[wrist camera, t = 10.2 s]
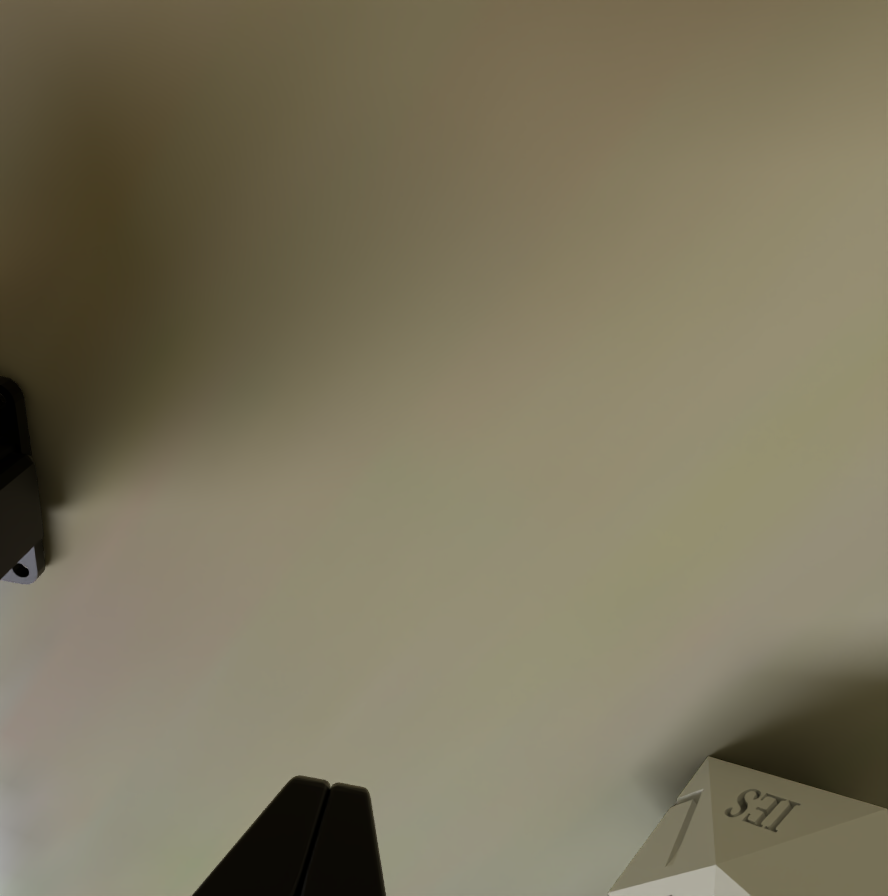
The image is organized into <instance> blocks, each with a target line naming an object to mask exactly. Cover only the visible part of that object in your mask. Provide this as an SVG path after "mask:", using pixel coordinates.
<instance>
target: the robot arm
mask: <svg viewBox="0 0 888 896" xmlns="http://www.w3.org/2000/svg"><path fill="white" fill-rule="evenodd" d="M0 393H1V394H2V395H3V396H4V398H5V400H6V402H3V401H2V400H0V580H3V581H9V582H15V583H20V584H30V583H33V582H34V581H35V580H36V579H37V578H38V577H39V576H40V575H41V574H42V573H43V572H44V570H45V560H44V552H43V544H42V538H43V535H44V532H43V524H42V516H41V508H40V500H39V492H38V483H37V475H36V467H35V463H34V462H33V460H32V456H31V448H30V440H29V432H28V424H27V416H26V408H25V400H24V395H23V392H22V390H21V388H20V387H19V386H18V384H16V383H15V382H14V381H12V380H11V379H9V378H6V377H3V376H0ZM22 564H23V565H25V566H26V567H27V568H28V569H27V568H25V567H24V566H23V565H22ZM192 896H386V892H385V886H384V880H383V873H382V867H381V861H380V855H379V848H378V842H377V836H376V829H375V823H374V817H373V810H372V804H371V798H370V794H369V792H368V790H367V789H366V788H364V787H360V786H355V785H349V784H344V783H335V784H333V785H332V786H331V787H330V783H329V782H328V781H326V780H322V779H317V778H311V777H306V776H295V777H293V778H292V779H291V780H290V781H289V782H288V783H287V784H286V785H285V786H284V787H283V788H282V790H281V791H280V792H279V793H278V794H277V796H276V797H275V798H274V799H273V800H272V801H271V803H270V804H269V805H268V806H267V807H266V809H265V810H264V811H263V812H262V813H261V814H260V816H259V817H258V818H257V819H256V820H255V822H254V823H253V824H252V825H251V826H250V827H249V829H248V830H247V831H246V832H245V833H244V835H243V836H242V837H241V838H240V839H239V840H238V842H237V843H236V844H235V845H234V846H233V848H232V849H231V850H230V851H229V852H228V853H227V855H226V856H225V857H224V858H223V859H222V861H221V862H220V863H219V864H218V865H217V866H216V868H215V869H214V870H213V871H212V872H211V874H210V875H209V876H208V877H207V878H206V879H205V881H204V882H203V883H202V884H201V885H200V887H199V888H198V889H197V890H196V891H195V892H194V894H193V895H192Z"/></svg>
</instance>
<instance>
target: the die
mask: <svg viewBox="0 0 888 896" xmlns="http://www.w3.org/2000/svg"><path fill="white" fill-rule="evenodd" d="M608 894H609V896H888V810H887V809H886V808H883V807H879V806H876V805H873V804H869V803H866V802H862V801H859V800H856V799H852V798H849V797H845V796H842V795H839V794H835V793H832V792H828V791H825V790H822V789H818V788H815V787H811V786H808V785H805V784H801V783H798V782H794V781H791V780H788V779H784V778H781V777H777V776H774V775H770V774H767V773H764V772H760V771H757V770H753V769H750V768H747V767H743V766H740V765H736V764H733V763H730V762H726V761H723V760H719V759H716V758H713V757H709V756H708V757H707V758H706V760H705V761H704V762H703V764H702V765H701V767H700V768H699V769H698V771H697V772H696V773H695V775H694V776H693V777H692V779H691V780H690V782H689V783H688V784H687V786H686V787H685V788H684V790H683V791H682V792H681V794H680V795H679V797H678V798H677V802H676V805H675V806H673V807H671V808H670V809H669V810H668V812H667V813H666V814H665V816H664V817H663V818H662V820H661V821H660V822H659V824H658V825H657V827H656V828H655V829H654V831H653V832H652V833H651V835H650V836H649V837H648V839H647V840H646V842H645V843H644V844H643V846H642V847H641V848H640V850H639V851H638V852H637V854H636V855H635V857H634V858H633V859H632V861H631V862H630V863H629V865H628V866H627V867H626V869H625V870H624V872H623V873H622V874H621V876H620V877H619V878H618V880H617V881H616V882H615V884H614V885H613V887H612V888H611V889H610V891H609V892H608Z"/></svg>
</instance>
